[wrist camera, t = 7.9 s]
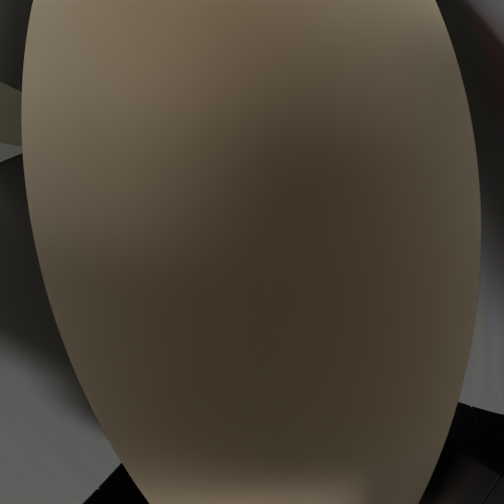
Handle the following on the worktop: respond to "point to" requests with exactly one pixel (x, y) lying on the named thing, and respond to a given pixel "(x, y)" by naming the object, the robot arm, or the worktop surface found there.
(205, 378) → the batten
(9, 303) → the worktop surface
